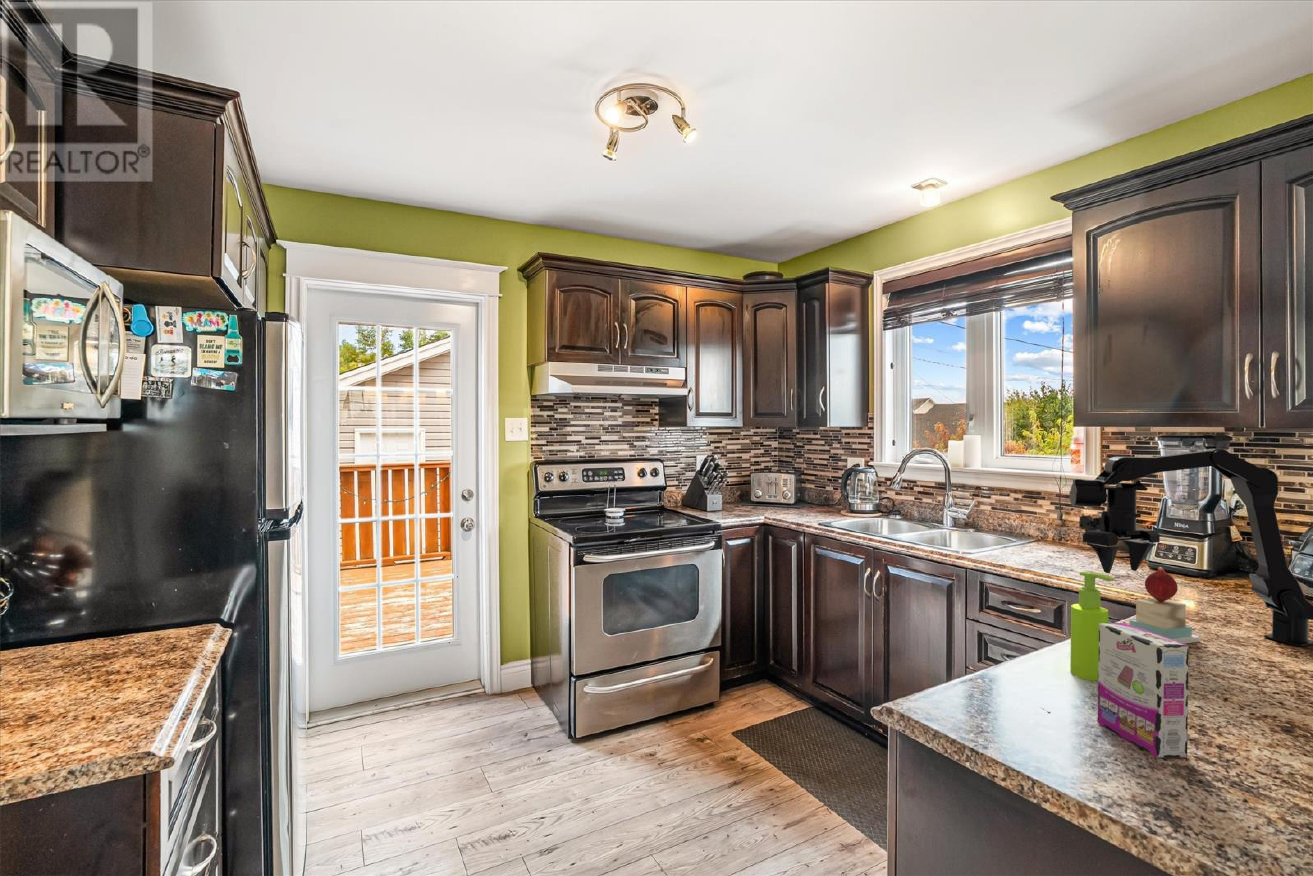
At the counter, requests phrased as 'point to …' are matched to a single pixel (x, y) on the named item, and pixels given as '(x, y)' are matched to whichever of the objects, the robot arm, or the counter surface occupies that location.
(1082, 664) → the soap dispenser
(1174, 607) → the maple block
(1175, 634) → the tower base
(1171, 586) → the onion
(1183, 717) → the candy bar box
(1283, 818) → the counter surface
